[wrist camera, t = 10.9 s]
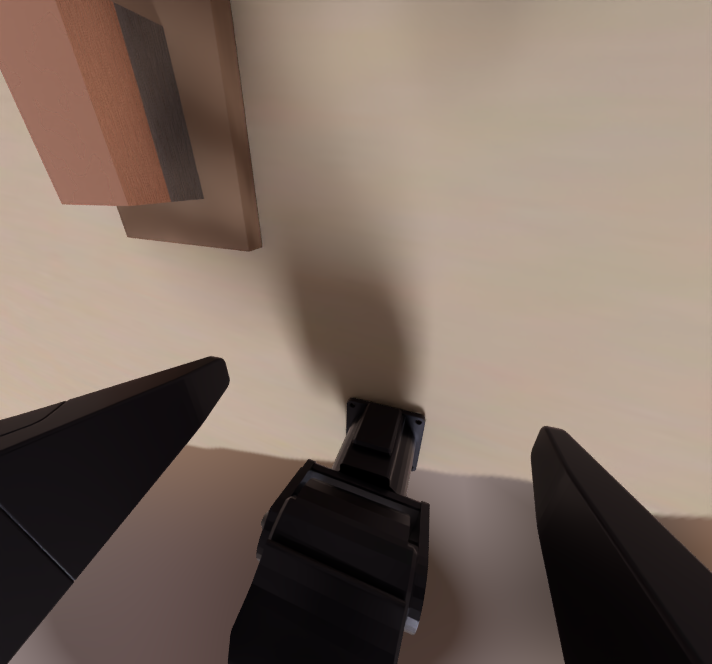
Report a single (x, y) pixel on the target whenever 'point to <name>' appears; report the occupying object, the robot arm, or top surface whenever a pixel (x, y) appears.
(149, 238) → the walnut stand
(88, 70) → the block
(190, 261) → the top surface
